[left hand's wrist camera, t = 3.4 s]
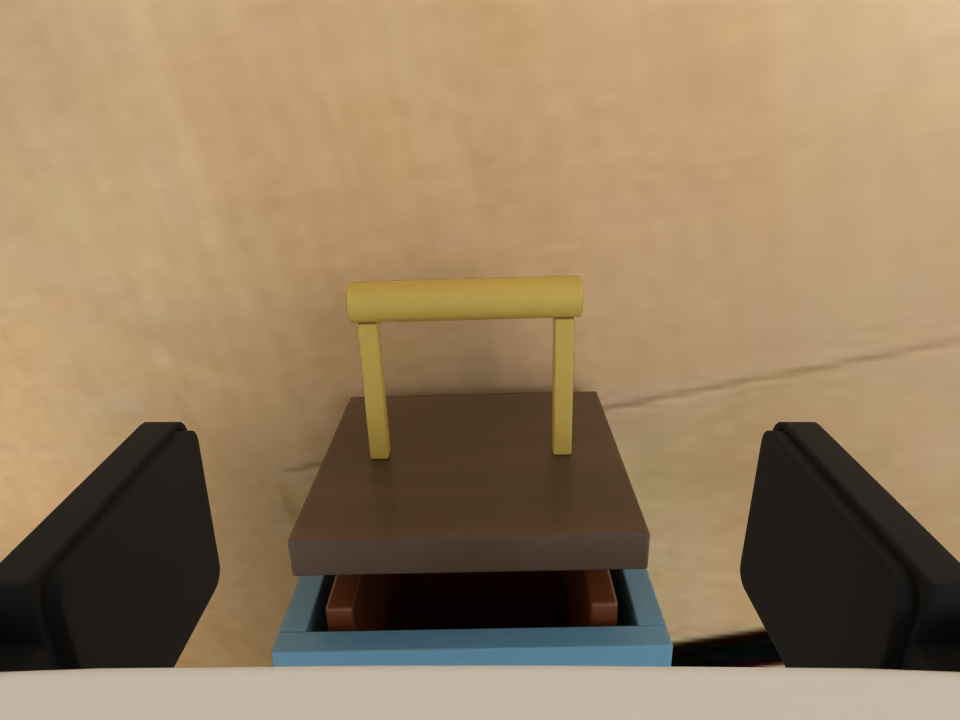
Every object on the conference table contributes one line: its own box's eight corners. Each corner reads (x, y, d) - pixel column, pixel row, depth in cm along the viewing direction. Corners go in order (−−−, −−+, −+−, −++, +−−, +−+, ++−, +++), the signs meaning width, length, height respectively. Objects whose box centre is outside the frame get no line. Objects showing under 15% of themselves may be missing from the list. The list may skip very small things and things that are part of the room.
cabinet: (346, 452, 29) (270, 652, 19) (605, 446, 29) (673, 645, 18) (381, 753, 36) (338, 1027, 25) (592, 750, 35) (637, 1025, 25)
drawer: (334, 249, 25) (253, 333, 16) (602, 242, 25) (666, 323, 16) (384, 709, 33) (348, 930, 24) (585, 706, 33) (621, 927, 24)
